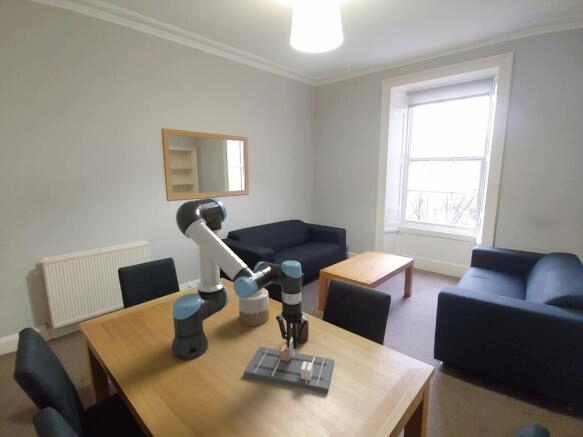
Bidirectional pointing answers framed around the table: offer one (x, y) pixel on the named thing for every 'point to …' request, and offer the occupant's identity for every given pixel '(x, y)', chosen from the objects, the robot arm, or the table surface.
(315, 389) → the console
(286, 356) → the fader
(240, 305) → the vase
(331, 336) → the table surface
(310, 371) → the block
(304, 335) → the mug
